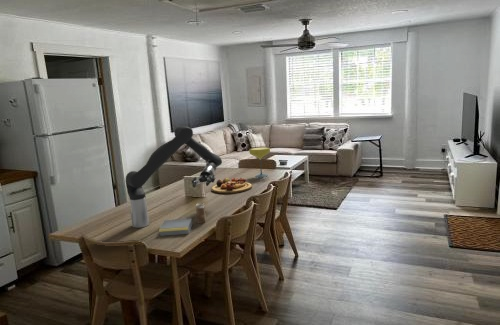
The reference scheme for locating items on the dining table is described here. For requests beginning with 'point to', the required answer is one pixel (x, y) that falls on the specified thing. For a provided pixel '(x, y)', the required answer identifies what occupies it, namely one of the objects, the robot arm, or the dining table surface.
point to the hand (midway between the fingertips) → (200, 185)
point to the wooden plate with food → (231, 186)
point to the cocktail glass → (259, 155)
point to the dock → (175, 227)
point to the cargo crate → (200, 212)
